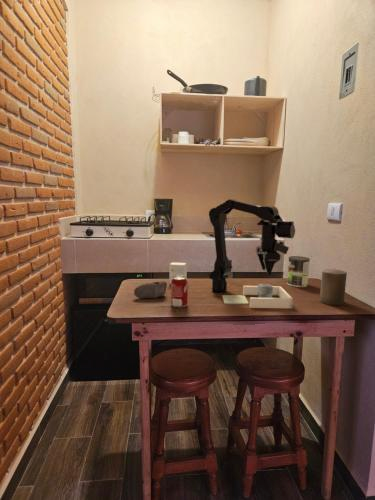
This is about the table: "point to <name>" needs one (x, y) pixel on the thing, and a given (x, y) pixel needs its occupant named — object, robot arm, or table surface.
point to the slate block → (265, 291)
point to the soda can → (179, 291)
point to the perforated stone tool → (151, 290)
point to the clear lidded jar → (298, 271)
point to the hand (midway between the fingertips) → (266, 272)
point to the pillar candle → (333, 286)
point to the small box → (177, 270)
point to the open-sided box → (281, 302)
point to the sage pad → (234, 299)
